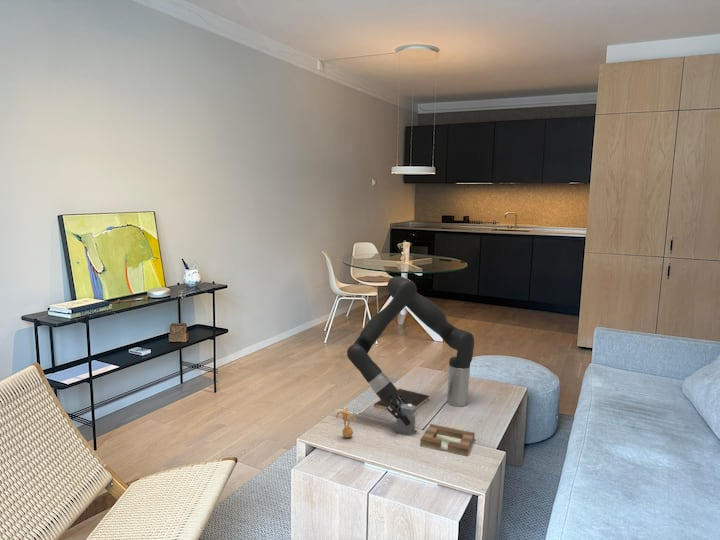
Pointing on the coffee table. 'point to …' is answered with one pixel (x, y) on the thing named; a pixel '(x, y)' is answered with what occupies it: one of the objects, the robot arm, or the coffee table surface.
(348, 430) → the figurine
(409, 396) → the hardcover book
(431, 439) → the walnut plate
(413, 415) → the block
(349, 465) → the coffee table surface
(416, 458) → the coffee table surface
